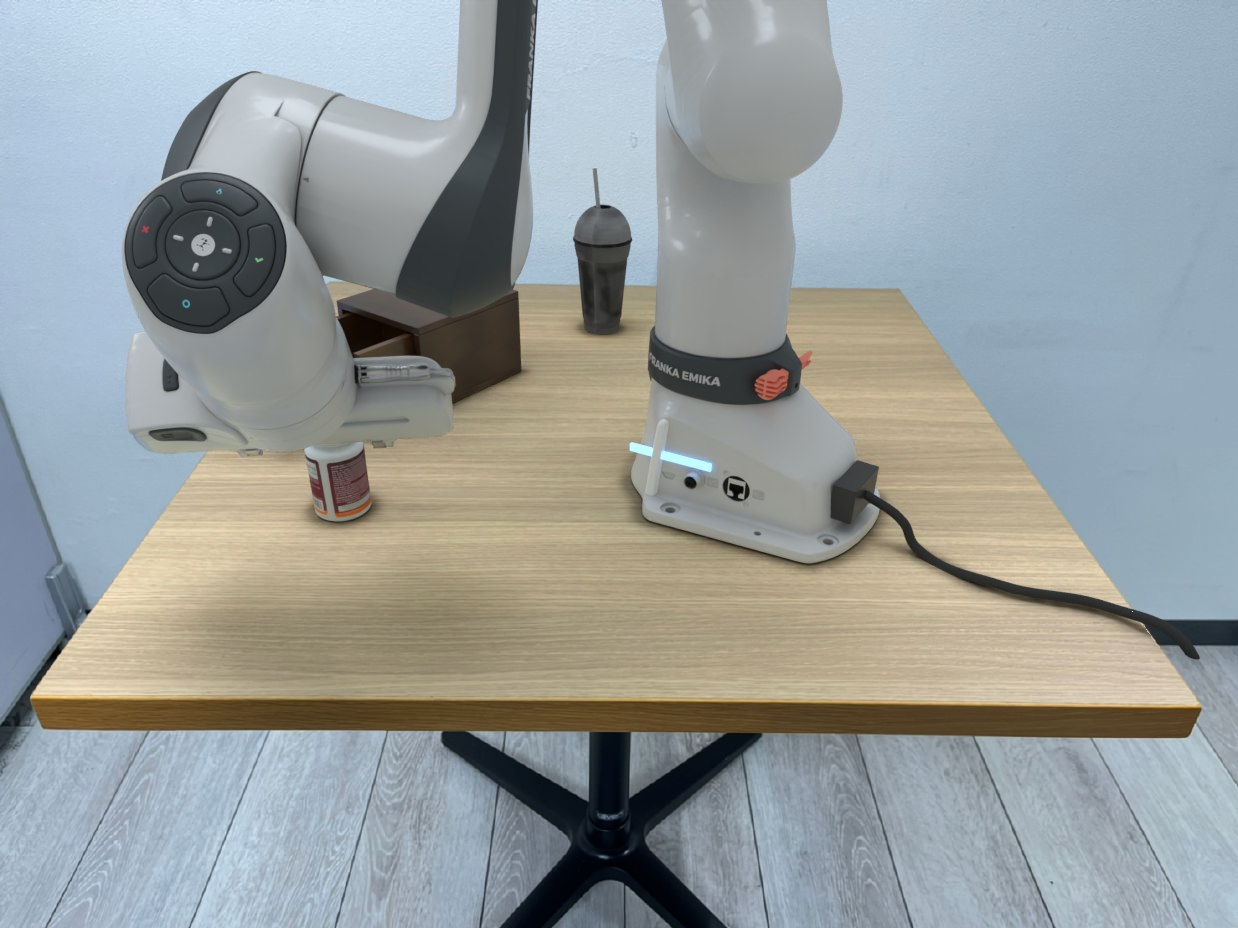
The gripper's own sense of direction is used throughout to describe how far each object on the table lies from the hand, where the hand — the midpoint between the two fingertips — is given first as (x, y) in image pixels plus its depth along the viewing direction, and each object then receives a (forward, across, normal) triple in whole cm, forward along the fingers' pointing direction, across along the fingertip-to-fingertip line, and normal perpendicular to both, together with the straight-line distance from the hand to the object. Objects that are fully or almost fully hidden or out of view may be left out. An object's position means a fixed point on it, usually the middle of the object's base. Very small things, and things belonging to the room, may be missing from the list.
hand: (319, 442), depth 68 cm
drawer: (+24, +1, -11) cm, 26 cm away
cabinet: (+30, -8, -16) cm, 35 cm away
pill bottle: (+12, 0, +3) cm, 12 cm away
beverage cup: (+39, -29, -25) cm, 55 cm away
